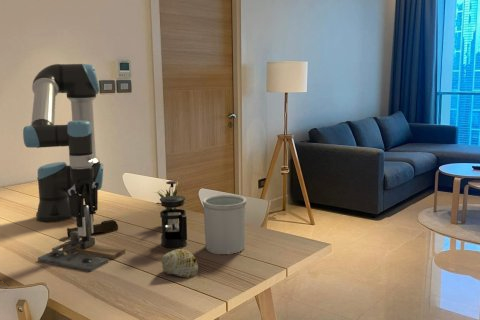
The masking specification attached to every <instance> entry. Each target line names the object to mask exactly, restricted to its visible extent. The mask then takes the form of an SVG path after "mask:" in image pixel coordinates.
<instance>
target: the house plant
mask: <svg viewBox="0 0 480 320" xmlns="http://www.w3.org/2000/svg"><path fill="white" fill-rule="evenodd" d="M171 189H172V187H171V185H170V186H169V188H168V190H167V189H165V191H166V193H165V192H164V191H163V190H162V189H161V190H157V191H156V192H154V193H155V194H157V195H159V197H160V198H162V197H166V196H171V195H172V190H171ZM179 189H180V187H177V188H176V189H175V190H173V196H181V195H182V193H184V192H185V190H183V191H182V192H180V193H178V191H179ZM161 191H162V192H163V193H164V194H163V193H162V192H161ZM185 200H187V198H186V197H185ZM155 205H157V207H159V206H161V202H156V203H155ZM184 205H185V206H186V205H187V204H186V202H184ZM164 208H165V209H162V210H161V211H163V210H167V209H172V208H169V207H164ZM173 209H177V207H173ZM163 215H164V214H163ZM168 215H169V216H172V215H173V213H168ZM174 215H180V213H178V212H174ZM168 224H173V219H168ZM174 224H179V219H174Z"/></svg>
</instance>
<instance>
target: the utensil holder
mask: <svg viewBox="0 0 480 320" xmlns="http://www.w3.org/2000/svg"><path fill="white" fill-rule="evenodd" d="M246 204H247V198H246V197H244V196H242V195H238V194H229V193H228V194H227V193H225V194H215V195H214V194H212V195H209V196H207V197H204V198H203V199H202V205H203V218H204V221H203V222H204V239H205V249H206V250H207V252H209V253H211V254H214V255H220V254H228V255H234V254H233V253H235V254H238V253H240V251H241V252H242V251H244V250H245V246H246ZM243 249H244V250H243ZM237 252H238V253H237Z"/></svg>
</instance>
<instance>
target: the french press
mask: <svg viewBox="0 0 480 320" xmlns="http://www.w3.org/2000/svg"><path fill="white" fill-rule="evenodd" d="M165 184H166V185H170V186H171V195H170V196H164V197H162V198H161V197H160V198H159V202H160V203H161V204H160V206H161V207H163V208H165V207H166V208H167V207H169V208H172V209H167V210H164V209H162V210H163V211H162V210H161V211H160V213H159V214H160V215H159V216H160V218H161V235H160V236H161V237H160V241H161V242H160V246H161V248H163V249H166V250H167V249H168V250H176V249H182V248H185V247H186V246H187V245H188V241H187V240H188V229H187V227H188V226H187V225H188V223H187V213H186V210H185V209H181V208H180V207H184V205H185V204H184V203H185V200H186V199H185V198H186V197H185V196H182V195H179V196H178V195H176V196H173V192H174V190H173V189H174V185H177V184H179V182H178V181H177V180H169V181H166V183H165ZM173 207H176V209H173ZM174 212H178V213H179V215H174ZM168 213H173V215H172V216H169V215H168ZM163 214H164V215H163ZM168 219H173V224H168ZM174 219H178V224H174Z"/></svg>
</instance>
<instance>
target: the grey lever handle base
mask: <svg viewBox="0 0 480 320" xmlns="http://www.w3.org/2000/svg"><path fill="white" fill-rule="evenodd" d="M69 239H70V240H68V241H67V242H64V243H61V244H59V245H56V246H54V247H52V248H51V252H52V253H53V254H54V253H55V252H56V250H61V249H62V251H64V250H66V249H68V248H70V247H73V246H75V245H77V244H78V241H80V236H79V235H78V231H72V232H70V238H69ZM71 253H77V254H82V255H88V256H94V257H99V258H105V259H108V260H109V259H110V260H115V259H118V258H119V257H122V256H123V255H125V254H126V249H125V248H121V247H116V246H115V247H114V246H109V245H104V244H103V245H101V244H96V243H95V244H94V245H92V246H90V247H87V248H85V249H84V248H77V249H75V250H73V251H71Z"/></svg>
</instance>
